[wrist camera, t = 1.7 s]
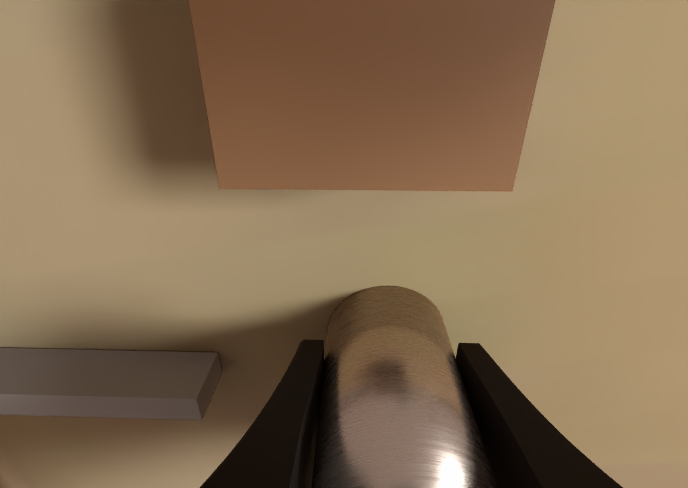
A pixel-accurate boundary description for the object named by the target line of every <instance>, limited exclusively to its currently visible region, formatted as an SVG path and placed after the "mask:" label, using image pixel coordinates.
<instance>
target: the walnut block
mask: <svg viewBox="0 0 688 488" xmlns="http://www.w3.org/2000/svg"><path fill="white" fill-rule="evenodd" d="M188 1H189V7H190V13H191V19H192V25H193V31H194V37H195V43H196V49H197V55H198V61H199V68H200V74H201V80H202V86H203V92H204V98H205V104H206V110H207V116H208V122H209V128H210V134H211V140H212V146H213V152H214V158H215V164H216V170H217V177H218V183H219V189H315V190H416V191H512V190H513V186H514V181H515V177H516V173H517V168H518V164H519V159H520V155H521V150H522V146H523V142H524V137H525V133H526V128H527V124H528V119H529V115H530V110H531V106H532V102H533V97H534V93H535V88H536V84H537V79H538V75H539V71H540V66H541V62H542V57H543V53H544V48H545V44H546V39H547V35H548V31H549V26H550V22H551V17H552V13H553V8H554V4H555V0H188Z"/></svg>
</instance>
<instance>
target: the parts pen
mask: <svg viewBox="0 0 688 488" xmlns="http://www.w3.org/2000/svg"><path fill="white" fill-rule="evenodd" d="M221 373H222V371H221V366H220V361H219V357H218V353H216V352H171V351H126V350H81V349H36V348H0V415H30V416H67V417H104V418H141V419H178V420H202V419H203V417H204V414H205V412H206V409H207V407H208V405H209V402H210V400H211V397H212V395H213V393H214V390H215V388H216V385H217V383H218V381H219V378H220V376H221Z"/></svg>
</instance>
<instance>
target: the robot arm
mask: <svg viewBox="0 0 688 488" xmlns="http://www.w3.org/2000/svg"><path fill="white" fill-rule="evenodd" d="M456 362H457V365H458V368H459V371H460V374H461V378H462V381H463V384H464V387H465V390H466V393H467V396H468V399H469V402H470V406H471V409H472V412H473V415H474V418H475V421H476V424H477V427H478V430H479V433H480V437H481V440H482V443H483V446H484V449H485V452H486V455H487V458H488V461H489V465H490V468H491V471H492V474H493V477H494V480H495V483H496V486H497V488H623V487H621V486H620V485H619V484H618V483H616V482H615V481H614V480H613V479H612V478H610V477H609V476H608V475H607V474H606V473H604V472H603V471H602V470H601V469H600V468H599V467H597V466H596V465H595V464H594V463H593V462H592V461H591V460H590V459H588V458H587V457H586V456H585V455H584V454H583V453H582V452H580V451H579V450H578V449H577V448H576V447H575V446H574V445H573V444H572V443H571V442H569V441H568V440H567V439H566V438H565V437H564V436H563V435H562V434H561V433H560V432H559V431H558V430H557V429H556V428H555V427H554V426H553V425H552V424H551V423H550V422H549V421H548V420H547V419H546V418H545V417H544V416H543V415H542V414H541V413H540V412H539V411H538V410H537V409H536V408H535V406H534V405H533V404H532V403H531V402H530V401H529V400H528V399H527V398H526V397H525V396H524V395H523V393H522V392H521V391H520V390H519V389H518V388H517V387H516V386H515V385H514V383H513V382H512V381H511V380H510V379H509V378H508V377H507V375H506V374H505V373H504V372H503V371H502V370H501V368H500V367H499V366H498V365H497V364H496V363H495V361H494V360H493V359H492V358H491V357H490V355H489V354H488V353H487V352H486V351H485V350H484V348H483V347H482V346H481V345H480V344H479V343H459V344H458V349H457V355H456ZM323 371H324V340H303V341H302V342H300V345H299V347H298V349H297V352H296V354H295V356H294V358H293V360H292V362H291V364H290V366H289V367H288V369H287V371H286V373H285V375H284V376H283V378H282V380H281V381H280V383H279V385H278V386H277V388H276V390H275V391H274V393H273V395H272V396H271V398H270V399H269V401H268V402H267V404H266V405H265V407H264V408H263V410H262V411H261V412H260V414H259V415H258V417H257V418H256V420H255V421H254V423H253V424H252V425H251V427H250V428H249V429H248V431H247V432H246V433H245V435H244V436H243V437H242V439H241V440H240V441H239V442H238V444H237V445H236V446H235V447H234V449H233V450H232V451H231V452H230V454H229V455H228V456H227V457H226V458H225V460H224V461H223V462H222V463H221V464H220V465H219V466H218V468H217V469H216V470H215V471H214V472H213V473H212V475H211V476H210V477H209V478H208V479H207V480H206V481H205V482H204V483H203V485H202V486H201V487H200V488H311V487H312V477H313V468H314V458H315V448H316V439H317V429H318V419H319V410H320V400H321V390H322V381H323Z"/></svg>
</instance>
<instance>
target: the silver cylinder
mask: <svg viewBox="0 0 688 488" xmlns="http://www.w3.org/2000/svg"><path fill="white" fill-rule="evenodd" d="M311 488H497V486H496V483H495V480H494V477H493V474H492V471H491V468H490V465H489V461H488V458H487V455H486V452H485V449H484V446H483V443H482V440H481V437H480V433H479V430H478V427H477V424H476V421H475V418H474V415H473V412H472V409H471V406H470V402H469V399H468V396H467V393H466V390H465V387H464V384H463V381H462V378H461V374H460V371H459V368H458V365H457V362H456V359H455V356H454V353H453V350H452V346H451V343H450V340H449V337H448V334H447V331H446V328H445V325H444V322H443V318H442V316H441V314H440V312H439V310H438V309H437V307H436V306H435V305H434V304H433V303H432V302H431V301H430V300H429V299H428V298H426V297H425V296H423V295H422V294H420V293H418V292H416V291H413V290H411V289H407V288H404V287H398V286H377V287H371V288H368V289H364V290H361V291H359V292H357V293H355V294H353V295H351V296H349V297H348V298H346V299H345V300H344V301H343V302H342V303H341V304H339V306H338V307H337V308H336V309H335V311H334V312H333V314H332V316H331V318H330V321H329V325H328V332H327V342H326V351H325V361H324V371H323V381H322V390H321V400H320V410H319V419H318V429H317V439H316V448H315V458H314V468H313V477H312V487H311Z"/></svg>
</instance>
